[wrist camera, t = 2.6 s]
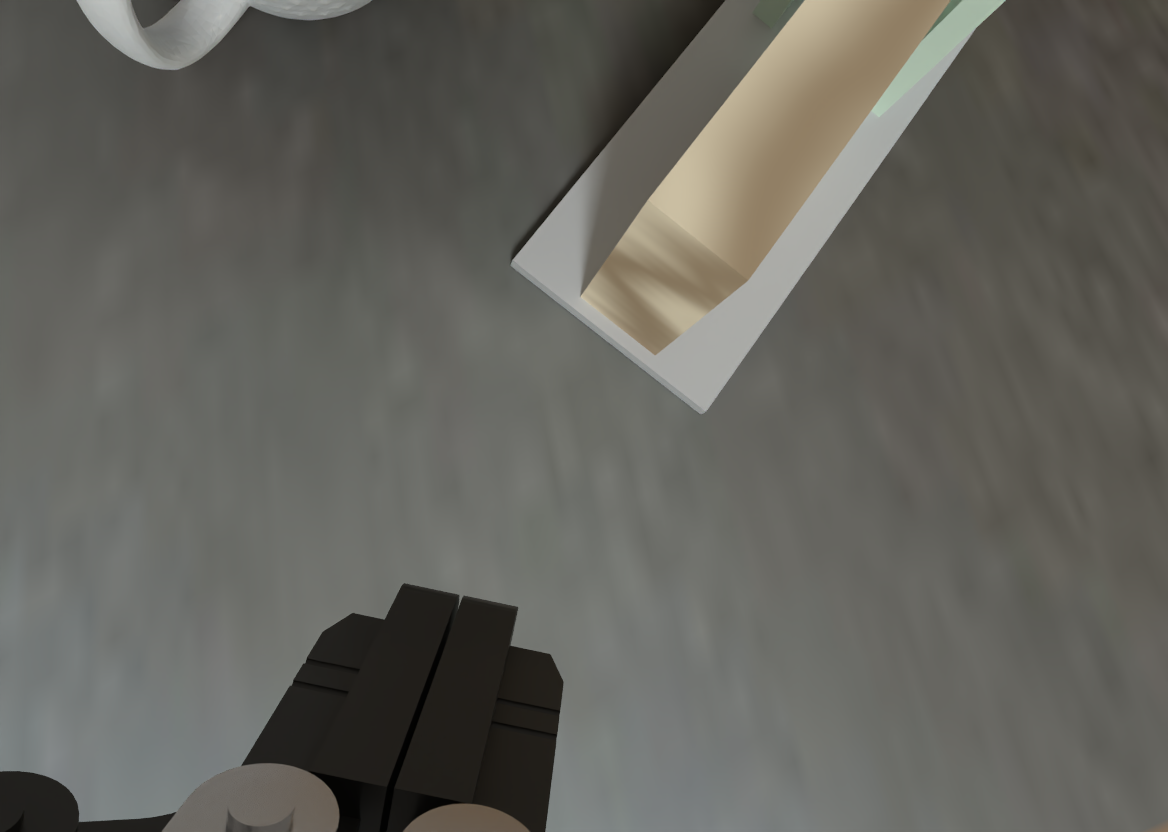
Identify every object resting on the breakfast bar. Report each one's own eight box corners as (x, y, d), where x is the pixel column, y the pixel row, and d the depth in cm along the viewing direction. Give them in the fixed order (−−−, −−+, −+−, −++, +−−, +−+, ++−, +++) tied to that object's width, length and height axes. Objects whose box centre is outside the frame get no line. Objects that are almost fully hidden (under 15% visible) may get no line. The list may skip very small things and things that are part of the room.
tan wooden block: (580, 296, 33) (647, 200, 24) (754, 74, 36) (869, -82, 27) (655, 355, 33) (748, 280, 25) (821, 130, 36) (956, -8, 28)
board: (510, 265, 33) (512, 260, 33) (815, -108, 39) (822, -118, 38) (700, 414, 34) (706, 411, 33) (974, 25, 40) (983, 17, 39)
